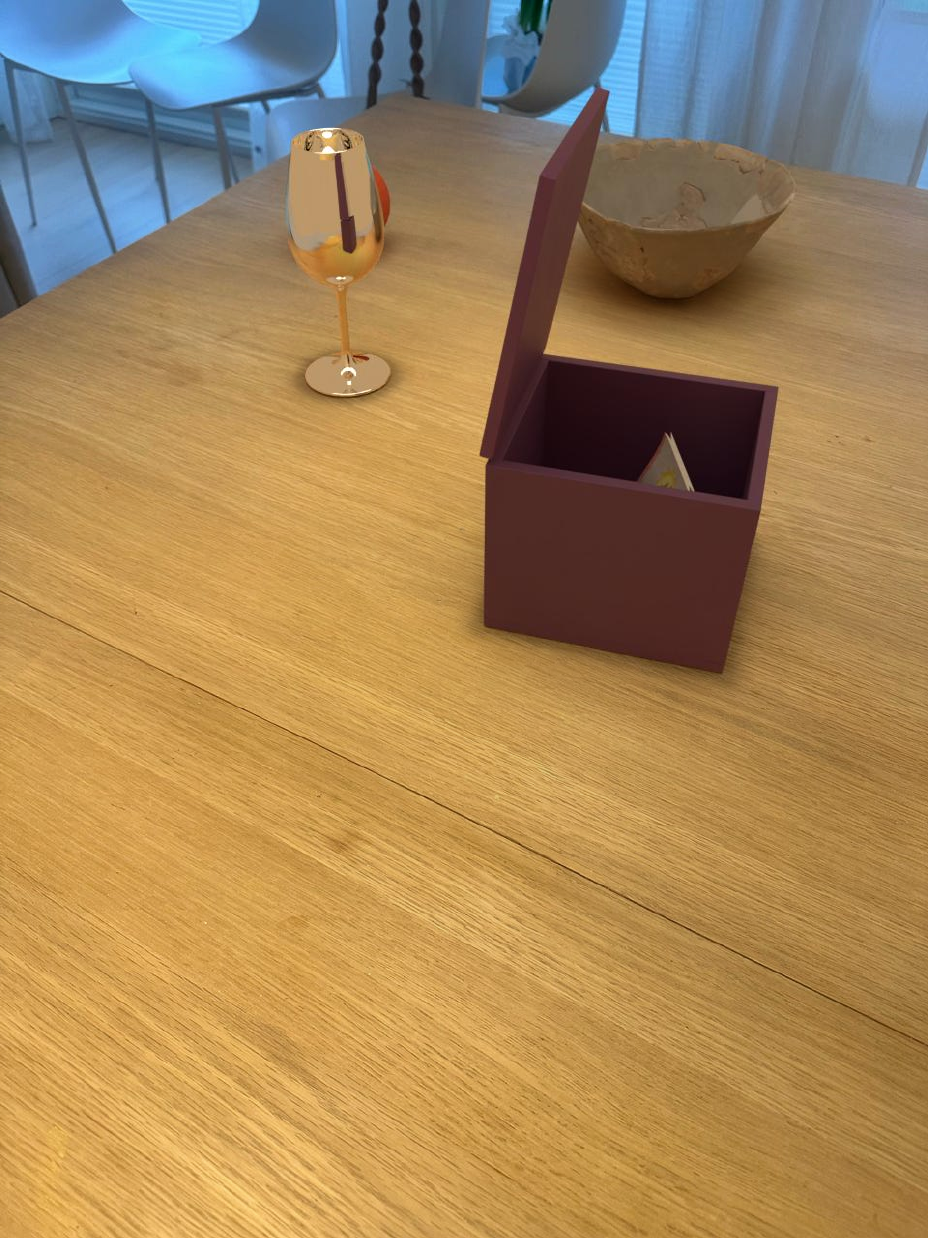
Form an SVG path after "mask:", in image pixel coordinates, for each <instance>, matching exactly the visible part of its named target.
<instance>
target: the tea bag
mask: <svg viewBox="0 0 928 1238" xmlns="http://www.w3.org/2000/svg"><path fill="white" fill-rule="evenodd" d="M636 482H639V483H646V484H652V485H658V486H664V487H670V488H676V489H682V490H688V491H694V489H693V486H692V484H691V481H690V479H689V476H688V474H687V471H686V469H685V466H684V464H683V461H682V459H681V456H680V454H679V451H678V449H677V446H676V444H675V441H674V439H673V436H672V434H671V435H670V438H669V436H668V435H667V434H666V432H665V434H664V436H663V439H662V442H661V444H660V445H659V447H658V449H657V451H656V453H655V454H654V456H653V458H652V459H651V461H650V462H649V464H648V465H647V466H646V468H645V469H644V471H643V472H642V474H641V475H640V477H639V478H638V480H637V481H636Z"/></svg>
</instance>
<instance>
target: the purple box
mask: <svg viewBox="0 0 928 1238" xmlns="http://www.w3.org/2000/svg"><path fill="white" fill-rule="evenodd" d="M779 388H780V387H779V386H777V385H770V384H762V383H756V382H749V381H743V380H734V379H728V378H721V377H713V376H706V375H698V374H691V373H685V372H677V371H671V370H670V371H669V370H664V369H663V370H662V369H656V368H649V367H642V366H634V365H627V364H621V363H613V362H608V361H607V362H606V361H599V360H592V359H586V358H585V359H584V358H577V357H570V356H564V355H555V354H549V353H543V355H542V357H541V359H540V361H539V363H538V365H537V367H536V369H535V372H534V374H533V376H532V378H531V380H530V382H529V384H528V386H527V388H526V390H525V392H524V394H523V396H522V399H521V401H520V403H519V405H518V407H517V409H516V411H515V413H514V415H513V417H512V419H511V421H510V423H509V426H508V428H507V430H506V432H505V434H504V436H503V438H502V440H501V442H500V444H499V446H498V448H497V450H496V453H495V455H494V457H493V459H492V460H490V459H487V461H486V463H485V465H484V466H485V469H484V471H485V473H484V479H485V480H484V548H483V549H484V552H483V553H484V555H483V556H484V561H483V563H484V564H483V627H486V628H491V629H496V630H501V631H507V632H511V633H516V634H520V635H521V634H522V635H526V636H532V637H536V638H541V639H547V640H552V641H556V642H561V643H562V642H563V643H567V644H572V645H577V646H582V647H587V648H592V649H597V650H602V651H608V652H612V653H617V654H622V655H627V656H631V657H632V656H633V657H638V658H643V659H647V660H653V661H658V662H663V663H667V664H673V665H678V666H683V667H688V668H693V669H699V670H703V671H708V672H713V673H719V674H723V673H724V669H725V664H726V661H727V656H728V653H729V647H730V644H731V640H732V635H733V631H734V627H735V623H736V618H737V613H738V610H739V605H740V601H741V597H742V592H743V588H744V584H745V580H746V576H747V572H748V567H749V562H750V558H751V556H752V555H751V554H752V549H753V546H754V541H755V537H756V533H757V528H758V525H759V520H760V516H761V511H762V505H763V498H764V491H765V483H766V477H767V470H768V464H769V457H770V452H771V451H770V449H771V443H772V436H773V429H774V424H775V423H774V422H775V416H776V409H777V402H778V394H779ZM665 432H666V434H667V435H668V436H669V438H670V435H671V434H672V436H673V439H674V441H675V444H676V446H677V449H678V451H679V454H680V456H681V459H682V461H683V464H684V466H685V469H686V471H687V474H688V476H689V479H690V481H691V484H692V486H693V489H694V491H688V490H682V489H676V488H670V487H664V486H658V485H652V484H646V483H639V482H636V481H637V480H638V478H639V477H640V475H641V474H642V472H643V471H644V469H645V468H646V466H647V465H648V464H649V462H650V461H651V459H652V458H653V456H654V454H655V453H656V451H657V449H658V447H659V445H660V444H661V442H662V439H663V436H664V434H665Z"/></svg>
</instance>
